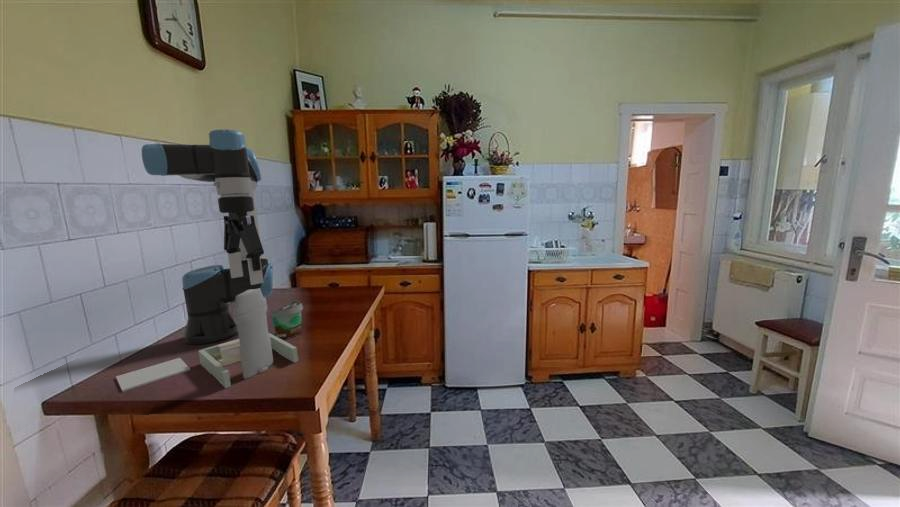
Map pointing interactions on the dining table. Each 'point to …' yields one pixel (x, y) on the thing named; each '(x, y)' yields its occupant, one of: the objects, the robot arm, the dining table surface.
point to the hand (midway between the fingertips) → (246, 280)
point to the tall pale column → (253, 332)
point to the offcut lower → (227, 359)
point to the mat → (151, 374)
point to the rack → (223, 373)
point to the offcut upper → (229, 349)
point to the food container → (288, 320)
